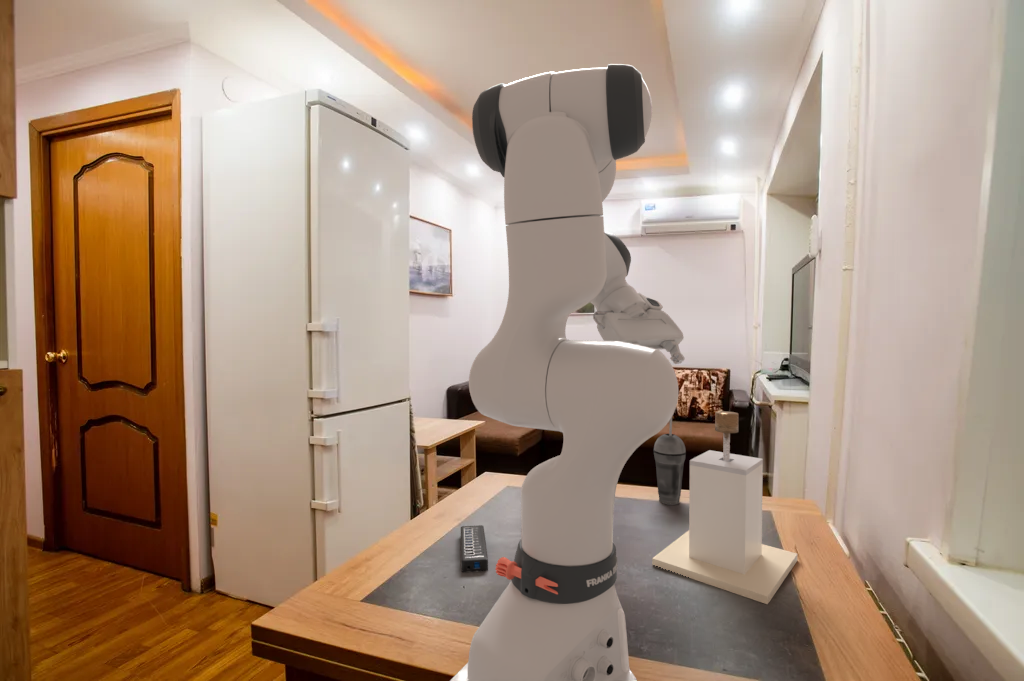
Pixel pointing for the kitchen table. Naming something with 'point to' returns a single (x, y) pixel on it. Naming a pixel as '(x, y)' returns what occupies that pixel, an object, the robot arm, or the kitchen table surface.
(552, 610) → the robot arm
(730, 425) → the plunger
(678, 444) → the beverage cup
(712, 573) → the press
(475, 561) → the multiport hub
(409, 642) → the kitchen table surface
